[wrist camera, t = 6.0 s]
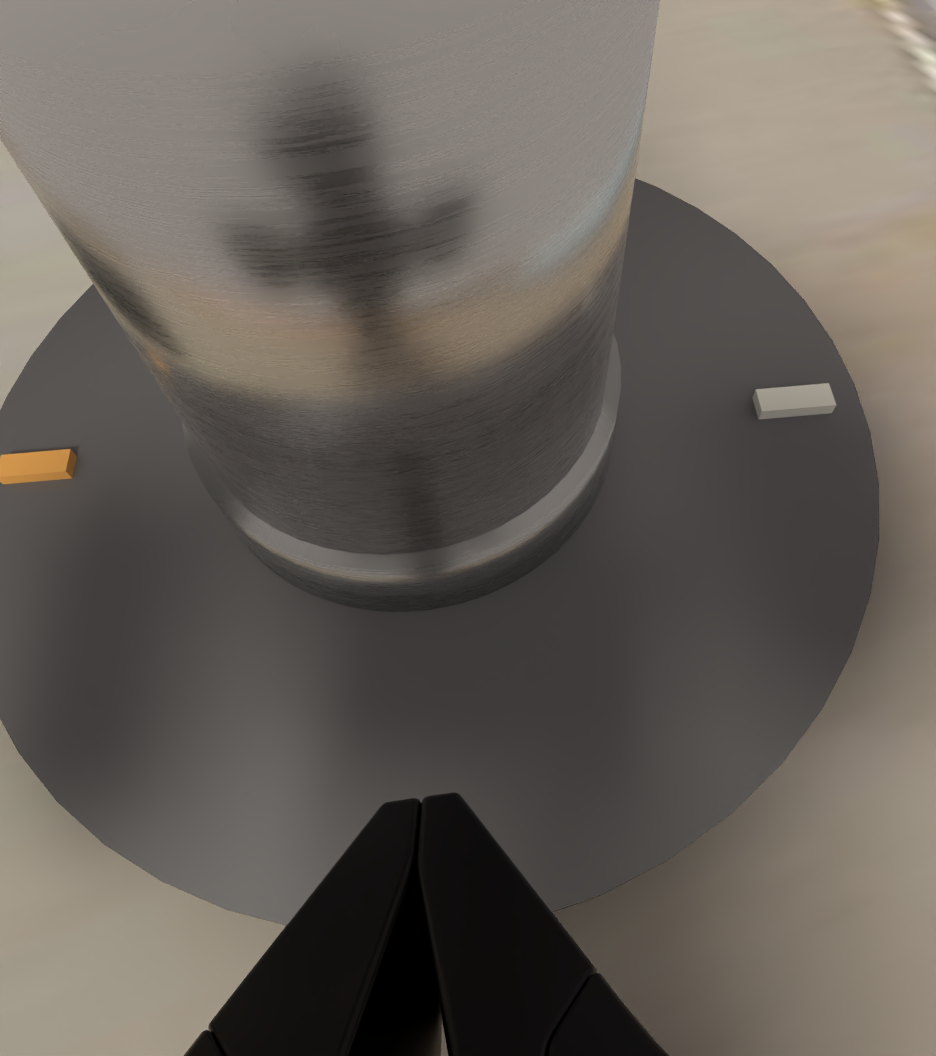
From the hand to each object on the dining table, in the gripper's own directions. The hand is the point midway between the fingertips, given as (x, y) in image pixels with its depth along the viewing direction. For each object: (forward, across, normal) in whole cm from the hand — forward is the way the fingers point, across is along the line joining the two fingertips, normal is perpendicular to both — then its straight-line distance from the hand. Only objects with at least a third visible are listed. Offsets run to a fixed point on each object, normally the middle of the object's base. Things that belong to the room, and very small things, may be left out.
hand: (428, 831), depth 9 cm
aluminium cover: (+11, 0, -3) cm, 11 cm away
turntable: (+11, 0, -2) cm, 11 cm away
